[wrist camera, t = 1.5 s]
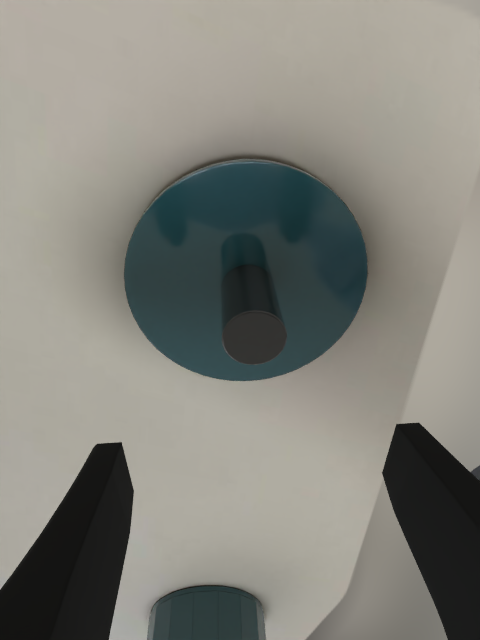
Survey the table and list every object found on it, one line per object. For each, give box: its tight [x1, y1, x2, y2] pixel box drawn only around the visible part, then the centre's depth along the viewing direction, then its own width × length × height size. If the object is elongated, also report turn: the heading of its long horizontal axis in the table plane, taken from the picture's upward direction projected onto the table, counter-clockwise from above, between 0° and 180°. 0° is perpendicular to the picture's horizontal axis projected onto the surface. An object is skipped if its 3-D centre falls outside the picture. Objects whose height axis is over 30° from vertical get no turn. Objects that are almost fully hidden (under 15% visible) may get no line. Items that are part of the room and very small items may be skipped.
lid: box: [124, 159, 368, 381], centre depth 17 cm, size 11×11×5 cm
